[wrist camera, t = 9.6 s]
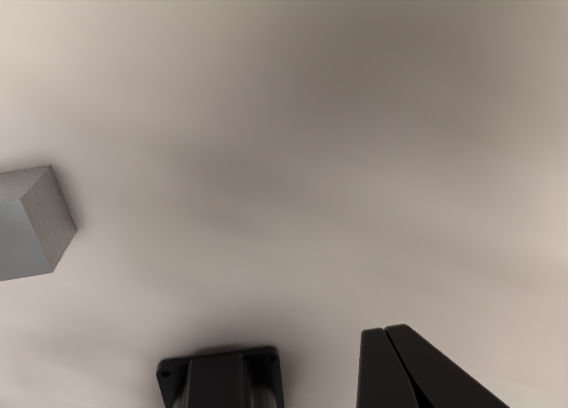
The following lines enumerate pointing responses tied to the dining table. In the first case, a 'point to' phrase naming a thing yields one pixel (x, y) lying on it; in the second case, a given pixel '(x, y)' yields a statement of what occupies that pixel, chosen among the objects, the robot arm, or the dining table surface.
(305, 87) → the dining table surface
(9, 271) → the long grey bar
